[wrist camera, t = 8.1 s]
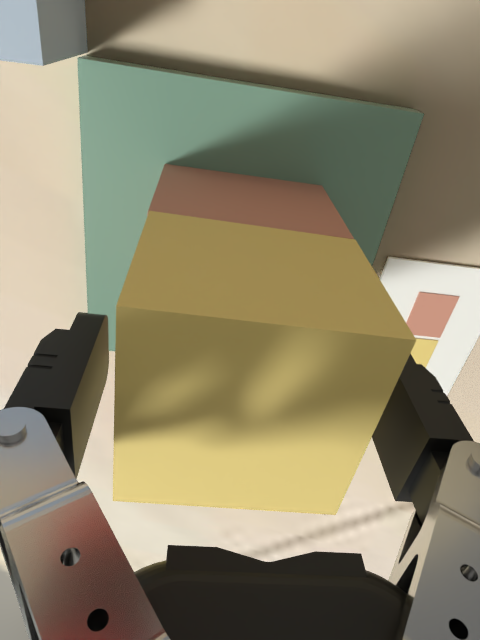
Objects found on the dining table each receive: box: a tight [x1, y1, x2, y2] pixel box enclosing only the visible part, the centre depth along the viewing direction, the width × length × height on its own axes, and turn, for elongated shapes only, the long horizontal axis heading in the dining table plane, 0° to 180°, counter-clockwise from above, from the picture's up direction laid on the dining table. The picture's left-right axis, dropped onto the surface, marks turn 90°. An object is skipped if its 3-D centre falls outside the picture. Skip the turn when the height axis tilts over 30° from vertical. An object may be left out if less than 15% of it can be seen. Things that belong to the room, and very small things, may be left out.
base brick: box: [147, 164, 354, 239], centre depth 17 cm, size 6×6×5 cm
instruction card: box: [380, 257, 480, 396], centre depth 23 cm, size 8×6×1 cm
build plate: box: [78, 56, 424, 351], centre depth 19 cm, size 12×12×1 cm
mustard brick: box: [113, 211, 416, 515], centre depth 13 cm, size 6×6×5 cm
